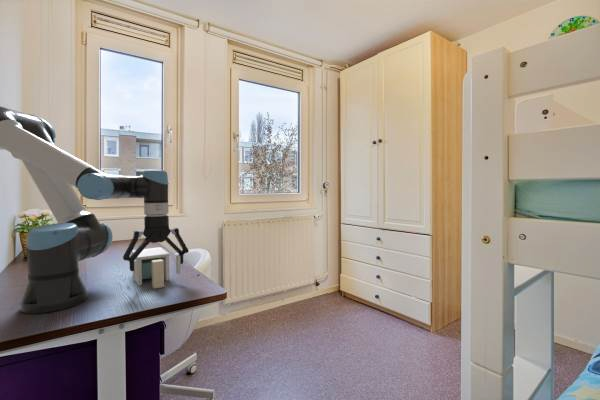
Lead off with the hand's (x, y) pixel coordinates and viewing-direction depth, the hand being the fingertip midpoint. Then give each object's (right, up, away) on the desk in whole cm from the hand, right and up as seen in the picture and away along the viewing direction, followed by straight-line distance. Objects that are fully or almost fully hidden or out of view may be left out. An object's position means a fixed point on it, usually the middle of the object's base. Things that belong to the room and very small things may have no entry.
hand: (157, 276), depth 102 cm
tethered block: (-5, -3, +7) cm, 9 cm away
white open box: (-8, -3, +11) cm, 14 cm away
